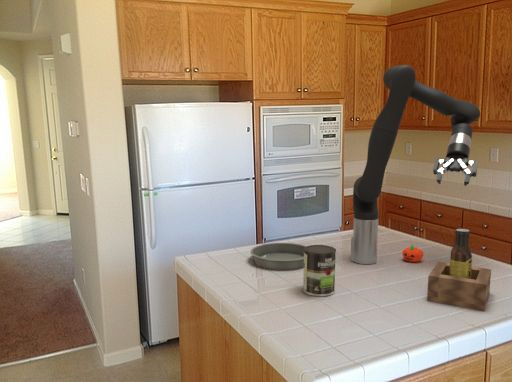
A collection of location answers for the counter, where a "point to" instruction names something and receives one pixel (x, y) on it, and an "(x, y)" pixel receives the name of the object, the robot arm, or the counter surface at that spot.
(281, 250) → the cake pan
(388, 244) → the counter surface
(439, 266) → the bottle block
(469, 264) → the sauce bottle
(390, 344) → the counter surface
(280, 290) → the counter surface
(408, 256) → the pumpkin
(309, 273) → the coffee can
